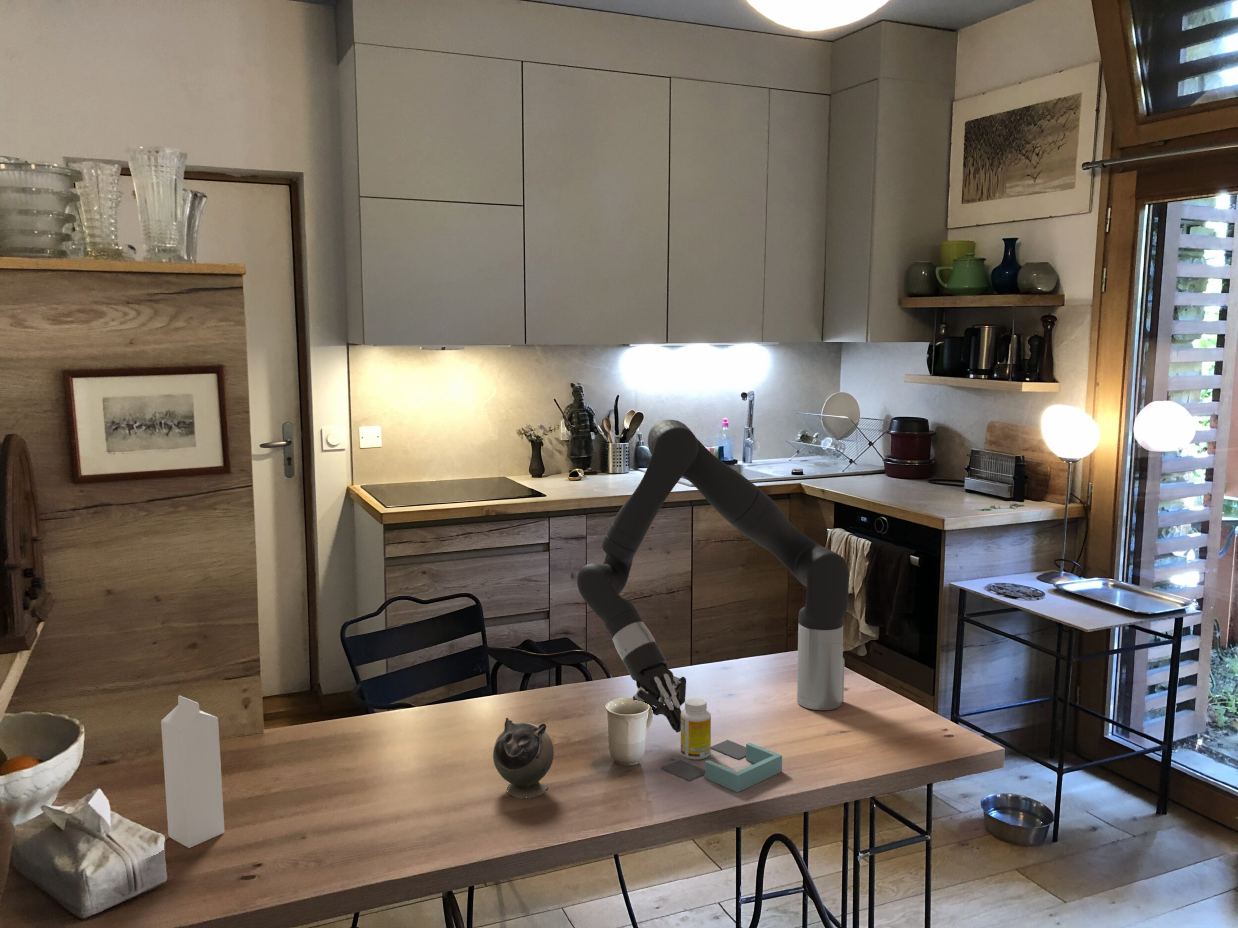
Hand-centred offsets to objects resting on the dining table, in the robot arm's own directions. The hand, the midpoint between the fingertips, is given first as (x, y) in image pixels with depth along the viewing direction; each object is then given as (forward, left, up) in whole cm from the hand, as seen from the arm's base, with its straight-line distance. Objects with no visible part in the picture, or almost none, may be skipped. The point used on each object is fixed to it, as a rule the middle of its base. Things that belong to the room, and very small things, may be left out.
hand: (682, 729), depth 182 cm
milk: (+79, -29, -4) cm, 84 cm away
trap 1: (+6, +7, -4) cm, 10 cm away
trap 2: (-7, +7, -4) cm, 10 cm away
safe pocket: (0, +15, -4) cm, 15 cm away
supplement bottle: (0, +3, -4) cm, 5 cm away
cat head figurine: (+32, -7, -4) cm, 33 cm away
